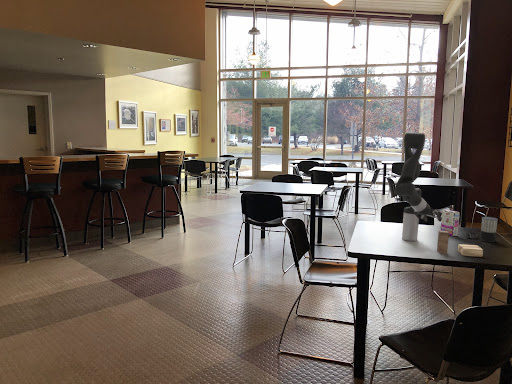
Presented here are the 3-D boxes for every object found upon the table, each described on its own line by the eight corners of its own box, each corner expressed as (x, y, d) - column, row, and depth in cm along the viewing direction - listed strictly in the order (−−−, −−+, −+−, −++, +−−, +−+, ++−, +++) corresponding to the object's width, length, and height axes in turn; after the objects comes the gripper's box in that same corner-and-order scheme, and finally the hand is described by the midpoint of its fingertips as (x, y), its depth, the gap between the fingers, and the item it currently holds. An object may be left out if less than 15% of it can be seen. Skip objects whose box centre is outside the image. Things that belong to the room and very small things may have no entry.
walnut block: (436, 250, 239) (438, 230, 238) (445, 251, 238) (446, 231, 237) (438, 252, 235) (440, 232, 233) (447, 253, 234) (449, 232, 232)
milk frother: (498, 242, 265) (501, 219, 264) (474, 241, 265) (476, 219, 263) (486, 237, 279) (488, 215, 278) (463, 236, 279) (465, 215, 277)
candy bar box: (458, 236, 281) (460, 212, 279) (452, 236, 279) (454, 212, 277) (445, 232, 291) (447, 209, 289) (439, 232, 289) (441, 209, 287)
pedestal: (457, 250, 241) (458, 244, 240) (476, 252, 239) (477, 245, 238) (462, 255, 231) (463, 248, 230) (482, 256, 229) (483, 249, 228)
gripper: (433, 199, 229) (447, 214, 236) (410, 200, 240) (423, 214, 248) (430, 210, 226) (444, 225, 234) (406, 211, 237) (420, 225, 245)
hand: (433, 220), depth 241 cm, fingers open, 8 cm apart
